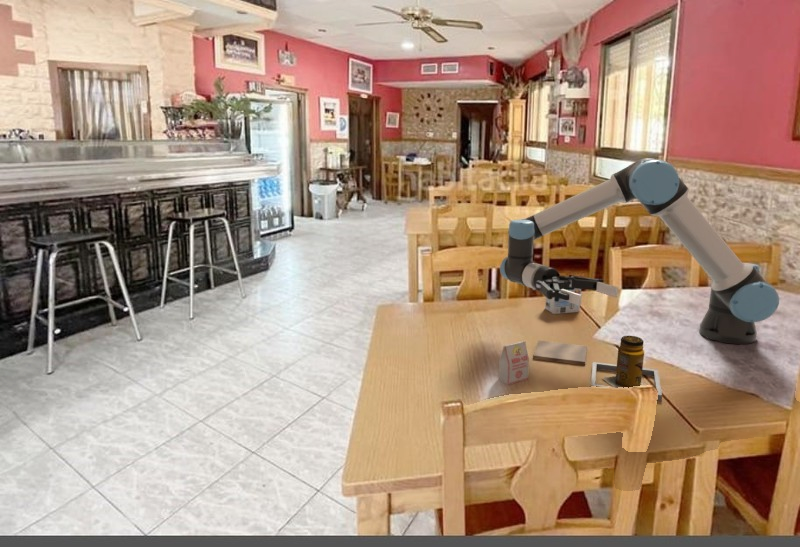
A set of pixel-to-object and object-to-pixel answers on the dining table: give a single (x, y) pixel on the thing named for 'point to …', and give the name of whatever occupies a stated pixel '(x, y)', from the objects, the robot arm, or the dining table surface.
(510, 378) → the white milk carton
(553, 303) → the light bulb box
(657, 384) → the square collar
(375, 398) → the dining table surface
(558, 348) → the walnut board
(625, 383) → the yellow cylindrical jar
